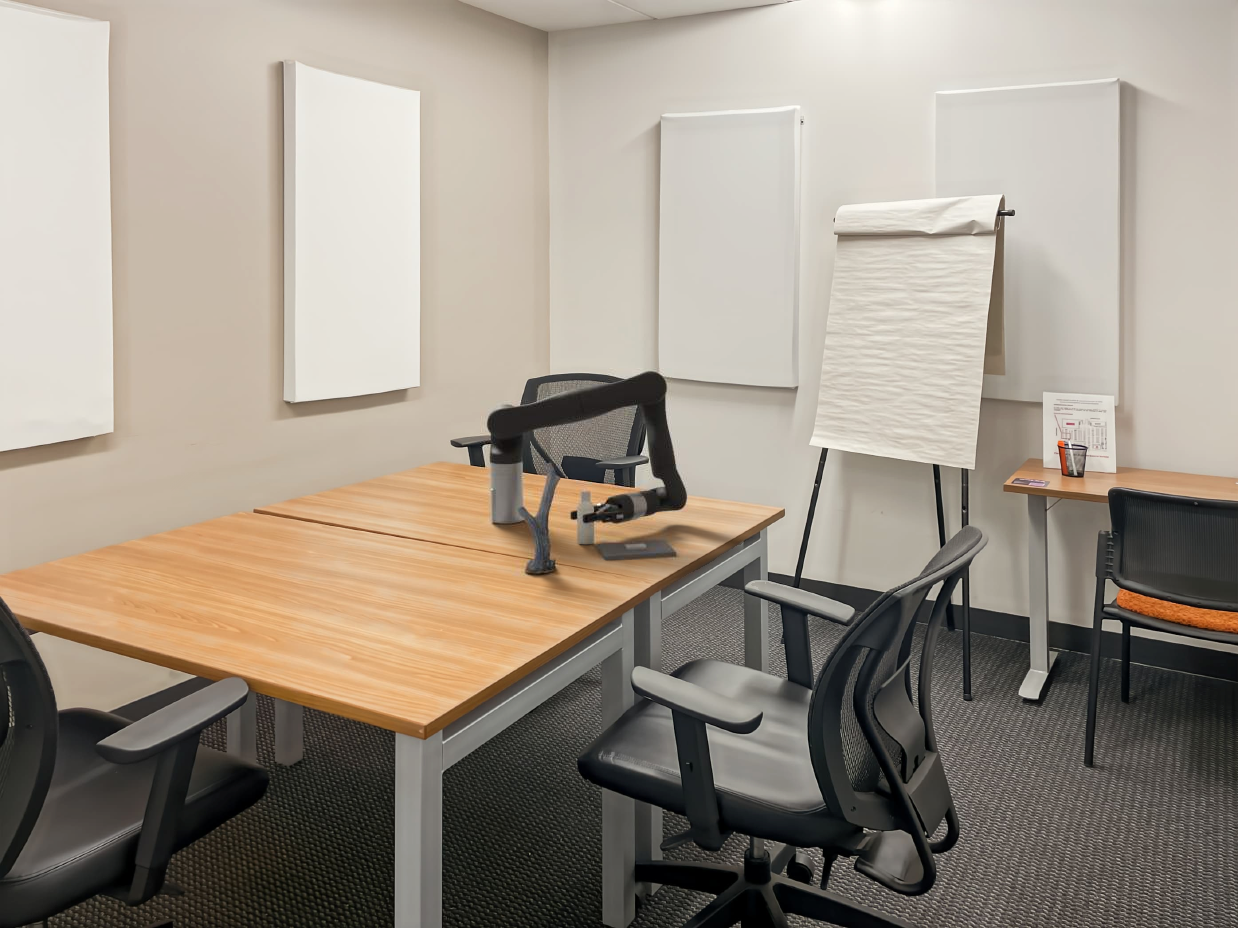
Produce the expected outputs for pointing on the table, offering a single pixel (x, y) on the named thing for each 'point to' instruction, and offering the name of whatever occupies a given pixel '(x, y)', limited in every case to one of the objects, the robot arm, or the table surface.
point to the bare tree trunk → (542, 526)
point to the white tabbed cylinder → (583, 529)
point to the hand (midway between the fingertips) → (577, 517)
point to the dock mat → (635, 549)
